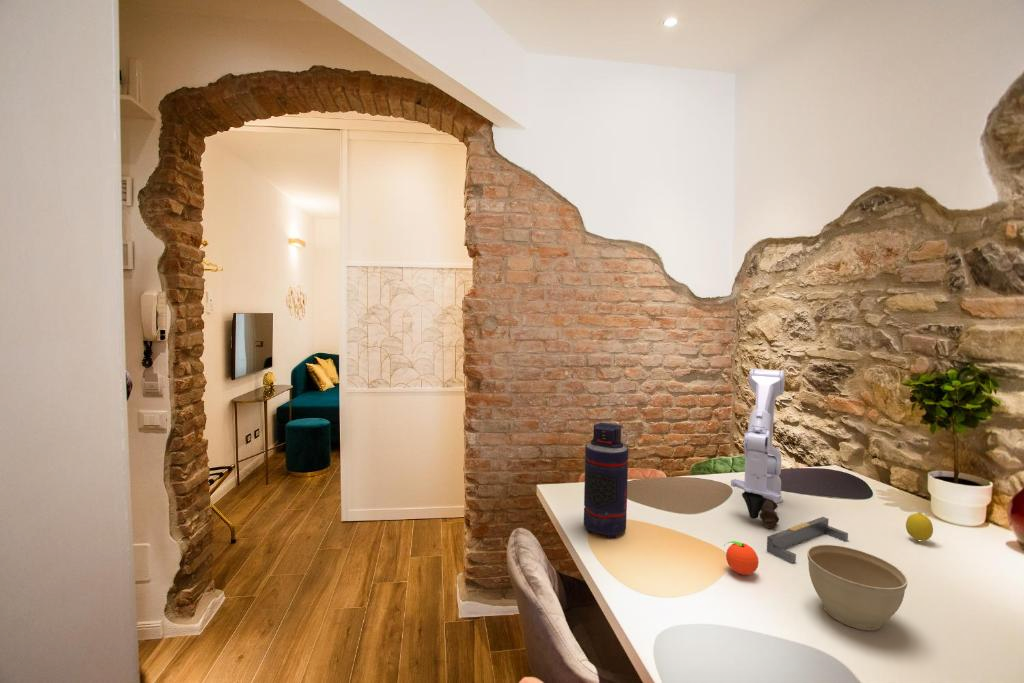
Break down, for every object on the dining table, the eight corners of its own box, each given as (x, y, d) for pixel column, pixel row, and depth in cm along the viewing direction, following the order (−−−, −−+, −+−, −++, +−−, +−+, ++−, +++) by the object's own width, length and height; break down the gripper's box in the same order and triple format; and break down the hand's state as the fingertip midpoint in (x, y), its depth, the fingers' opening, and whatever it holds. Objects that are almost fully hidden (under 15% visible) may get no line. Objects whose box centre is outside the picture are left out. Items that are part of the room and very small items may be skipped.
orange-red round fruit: (715, 568, 109) (716, 540, 109) (729, 559, 113) (731, 532, 113) (749, 584, 103) (750, 554, 102) (763, 574, 107) (764, 545, 107)
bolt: (766, 535, 130) (763, 513, 144) (784, 531, 128) (779, 509, 141) (756, 517, 131) (754, 496, 144) (774, 511, 129) (770, 491, 142)
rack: (822, 530, 130) (822, 515, 130) (847, 540, 124) (848, 525, 124) (766, 551, 117) (767, 535, 117) (792, 563, 112) (792, 547, 112)
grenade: (618, 543, 121) (621, 432, 119) (576, 532, 127) (579, 426, 125) (633, 523, 132) (636, 422, 131) (595, 514, 139) (597, 417, 137)
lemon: (927, 539, 125) (929, 511, 125) (935, 548, 120) (937, 519, 120) (901, 534, 128) (903, 507, 127) (909, 543, 123) (911, 514, 122)
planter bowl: (878, 655, 81) (881, 597, 81) (788, 604, 96) (791, 554, 95) (920, 628, 89) (923, 574, 88) (831, 584, 103) (833, 538, 103)
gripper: (725, 467, 138) (723, 510, 139) (771, 482, 125) (769, 530, 126) (739, 463, 141) (738, 506, 142) (786, 478, 129) (784, 525, 129)
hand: (753, 517), depth 134 cm, fingers closed
